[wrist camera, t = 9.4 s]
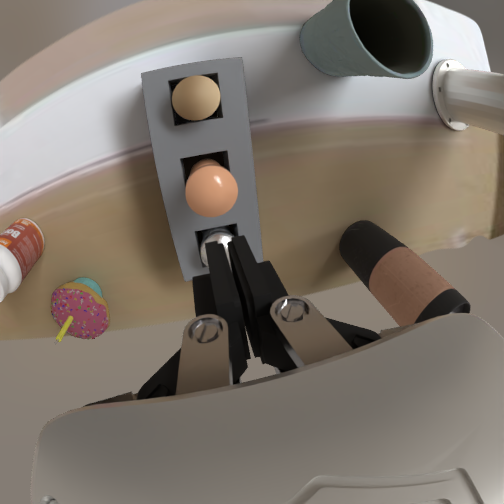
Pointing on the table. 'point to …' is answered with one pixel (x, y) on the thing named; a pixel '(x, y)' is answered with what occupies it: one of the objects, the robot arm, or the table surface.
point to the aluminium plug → (215, 234)
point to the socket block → (197, 143)
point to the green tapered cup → (369, 39)
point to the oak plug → (196, 97)
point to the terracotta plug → (210, 189)
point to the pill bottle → (18, 253)
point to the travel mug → (398, 276)
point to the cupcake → (80, 309)
